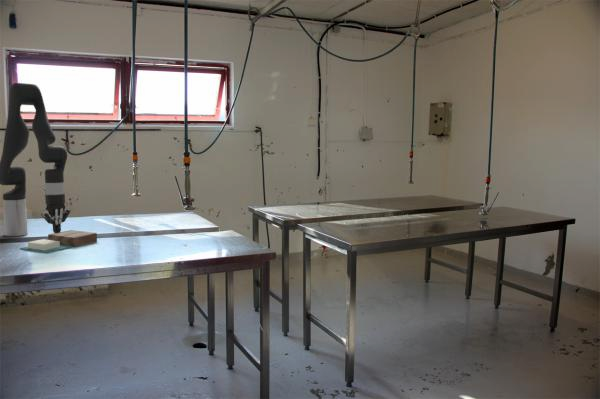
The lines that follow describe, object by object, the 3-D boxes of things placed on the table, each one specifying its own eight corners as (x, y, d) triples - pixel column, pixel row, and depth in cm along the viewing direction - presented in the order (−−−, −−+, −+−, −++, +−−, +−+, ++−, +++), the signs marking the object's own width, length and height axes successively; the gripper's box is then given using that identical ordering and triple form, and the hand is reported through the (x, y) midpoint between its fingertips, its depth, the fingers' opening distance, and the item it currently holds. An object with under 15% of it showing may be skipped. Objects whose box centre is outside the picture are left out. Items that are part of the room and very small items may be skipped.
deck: (48, 243, 203) (47, 234, 203) (71, 238, 214) (71, 230, 213) (74, 246, 197) (74, 237, 196) (97, 241, 208) (96, 233, 207)
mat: (20, 249, 191) (20, 248, 191) (46, 243, 202) (46, 242, 202) (47, 253, 185) (47, 252, 185) (72, 247, 196) (72, 246, 196)
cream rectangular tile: (43, 239, 197) (43, 244, 198) (27, 242, 191) (28, 248, 191) (59, 241, 194) (59, 247, 194) (44, 244, 187) (44, 250, 187)
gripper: (62, 191, 204) (64, 229, 206) (34, 193, 192) (36, 234, 194) (74, 192, 201) (76, 231, 203) (47, 194, 189) (49, 236, 191)
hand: (57, 232), depth 199 cm, fingers closed
